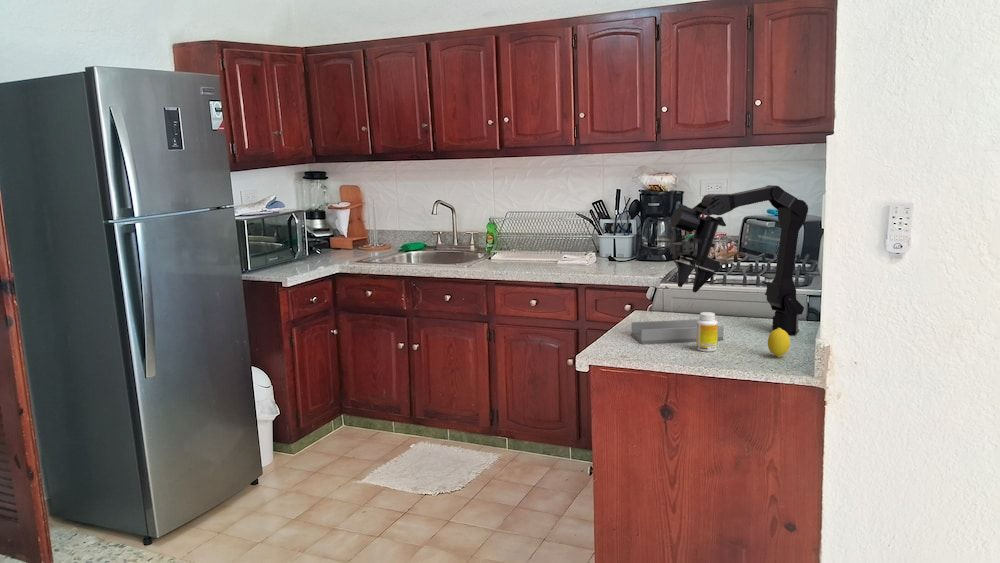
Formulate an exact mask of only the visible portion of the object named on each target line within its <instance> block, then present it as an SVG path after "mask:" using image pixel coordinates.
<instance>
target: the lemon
mask: <svg viewBox="0 0 1000 563" xmlns="http://www.w3.org/2000/svg"><path fill="white" fill-rule="evenodd" d="M790 345H791V339H790V335H788V333H787V332H786V331H784V330H782V329H781V328H777V329H775V330H772V331H771V332H770V333H769V335H768V338H767V347H768V350H769V351H770V353H771V354H772V355H774V356H776V357H777V358H781V357H782V356H784V355H786V353H788V352H789V350H790V347H791V346H790Z"/></svg>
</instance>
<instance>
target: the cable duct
mask: <svg viewBox="0 0 1000 563" xmlns="http://www.w3.org/2000/svg"><path fill="white" fill-rule="evenodd" d="M698 320H700V318H695V319H674V320H671V319H670V320H654V321H653V320H651V321H649V320H648V321H631V323H630V327H631V329H630V330H631V332H630V333H631V334H630V335H631V336H632V338H634V339H635V340H636V341H638V342H639V343H640V344H641V345H654V344H658V345H659V344H673V343H675V344H676V343H694V342H696V343H697V321H698ZM718 341H724V326H723V325H718V339H717V342H718Z"/></svg>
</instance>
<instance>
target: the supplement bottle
mask: <svg viewBox="0 0 1000 563" xmlns="http://www.w3.org/2000/svg"><path fill="white" fill-rule="evenodd" d="M699 319H700V320H698V321H697V342H696V349H697V350H698V351H701V352H705V353H706V352H709V353H711V352H712V353H713V352H715V351H717V350H718V341H717V339H718V326H719V325H718V324H719V322H718V320H717V319H716V313H714V312H709V311H702V312H700V314H699Z"/></svg>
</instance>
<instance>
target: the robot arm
mask: <svg viewBox="0 0 1000 563" xmlns="http://www.w3.org/2000/svg"><path fill="white" fill-rule="evenodd" d="M767 201H768V202H769V204H770V205H771V206H772V207H773V208H775V209H776V210H777V219H778V220H777V221H778V224H779V226H780V237H779V245H778V254H777V260H776V269H775V270H776V271H775V275H774V276H775V277H774V278H773V280H772V281H767V283H766V291H765V294H764V295H765V296H766V302H768V303H769V305H770V308H771V310H772V311H774V315H773V316H772V327H771V328H772V331H773V330H775V329H777V328H781V329H782V330H784V331H786V332H787V333H788V335H789V336H796V335H797V334H798V333H799V332H800V329H799V317H800V316H799V315H802V314H803V312H804V309H805V307H804V306H803V305H802V304H801V303H800V302H799V300H798V299H797V289H796V286H795V282H794V272H795V263H796V254H797V250H798V249H797V248H798V241H799V235H800V234H799V232H800V230H801V228H802V227H803V225H804V224H805V222H806V220H807V217H808V216H807V215H808V213H809V205H808V204H807V203H806V201H805V200H803V199H799V198H797V197H796V196H794V195H793V194H791V193H789V192H787V191H785V190H784V189H783V188H782V187H780V186H779V185H766V186H762V187H757V188H753V189H748V190H744V191H739V192H734V193H707V194H705V195H704V196H703V197H702V198H701V201H700V202H699V203H698V204H696V205H695V206H693V208H692V207H689V206H687V205H685V204H678V207H677V208H676V209H675V210H674V211H673V213H672V214H671V216H670V220H669V221H670V222H669V223H670V224H669V225H670V227H671V228H673V229H677V230H679V231H683V232H687V233H692V232H693V235H692V237H691V236H689V238H687V240H686V241H684V240H682V241H679V242H670V243H669V252H670V253H669V254H670V255H672V256H671V259H673V260H672V261H673V263H674V264H675V265H676V267H677V287H678V288H682V287H683V286H684V285H685V283H686V282H687V281H688V278H689V276H690V275H691V274H692V272H693V270H694V272H695V276H694V281H693V286H692V289H691V290H692V292H693V293H697V292H698V291H699V290H700V289H701V288H702V287H703V286H704V285H705V284H706V283H707V282H708V281H709V280H710V279H711V278H712V277H713V276H714V275H716V274H717V273H719V272H720V271H721V268H722V264H721V262H720V261H718V260H715V259H712V258H711V257H709V256H710V252H711V248H715V246H716V244H715V243H714V240H715V236H716V234H717V230H718V229H719V228H718V227H719V226H720V227H726V226H727V223H726V222H725V221H724V218H723V215H724V214H728V213H730V212H732V211H733V210H734V209H736V208H739V207H743V206H749V205H753V204H758V203H763V202H767ZM713 215H714V216H717V217H713ZM702 216H704V217H702Z"/></svg>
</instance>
